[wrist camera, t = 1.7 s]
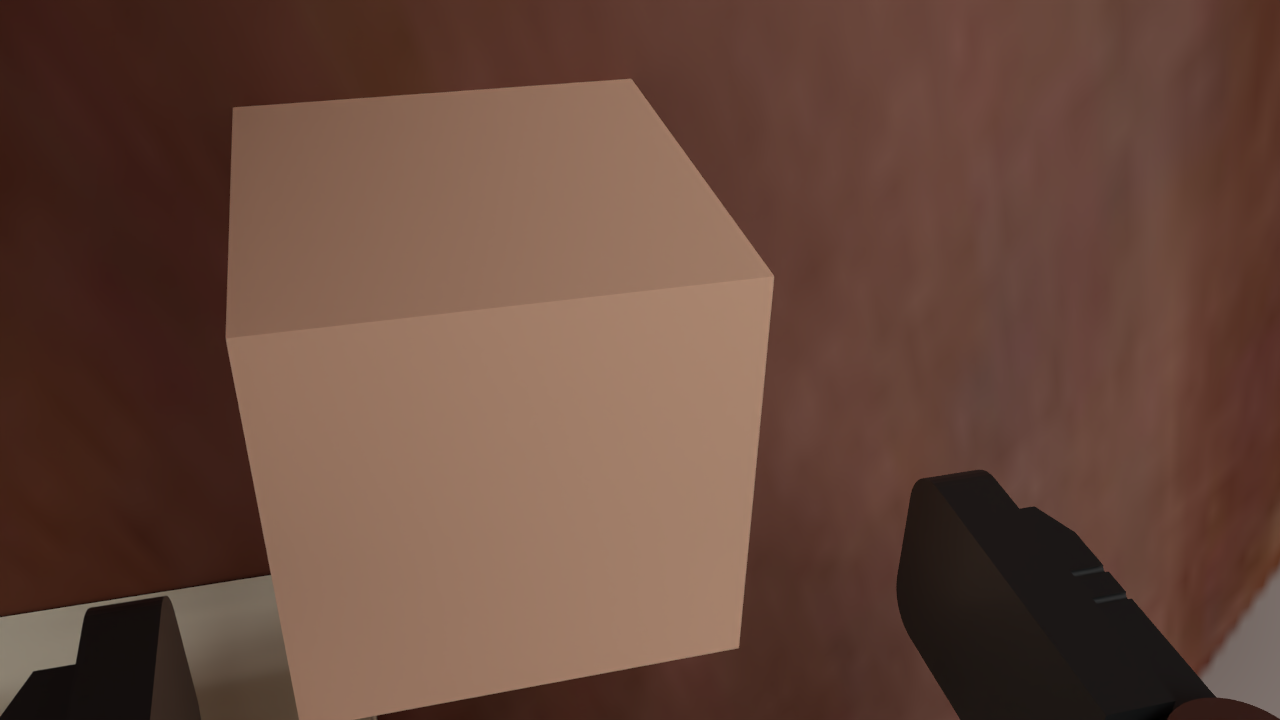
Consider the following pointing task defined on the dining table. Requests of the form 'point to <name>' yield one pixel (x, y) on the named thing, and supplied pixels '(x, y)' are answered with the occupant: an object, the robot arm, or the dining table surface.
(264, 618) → the stepped translucent block
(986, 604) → the robot arm
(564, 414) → the top block
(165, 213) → the dining table surface
